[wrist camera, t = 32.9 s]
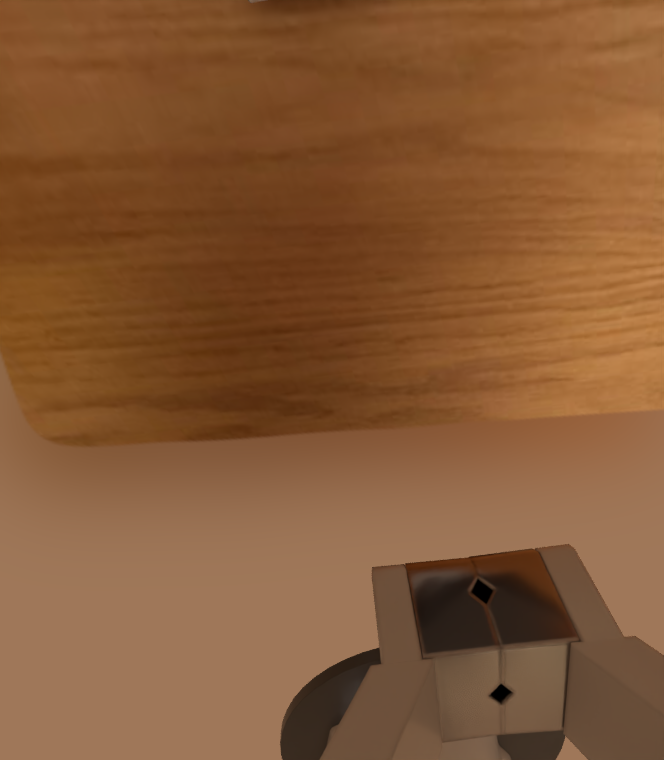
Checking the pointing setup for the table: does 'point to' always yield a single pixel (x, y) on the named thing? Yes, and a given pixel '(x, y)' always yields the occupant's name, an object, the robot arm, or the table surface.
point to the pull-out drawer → (253, 0)
